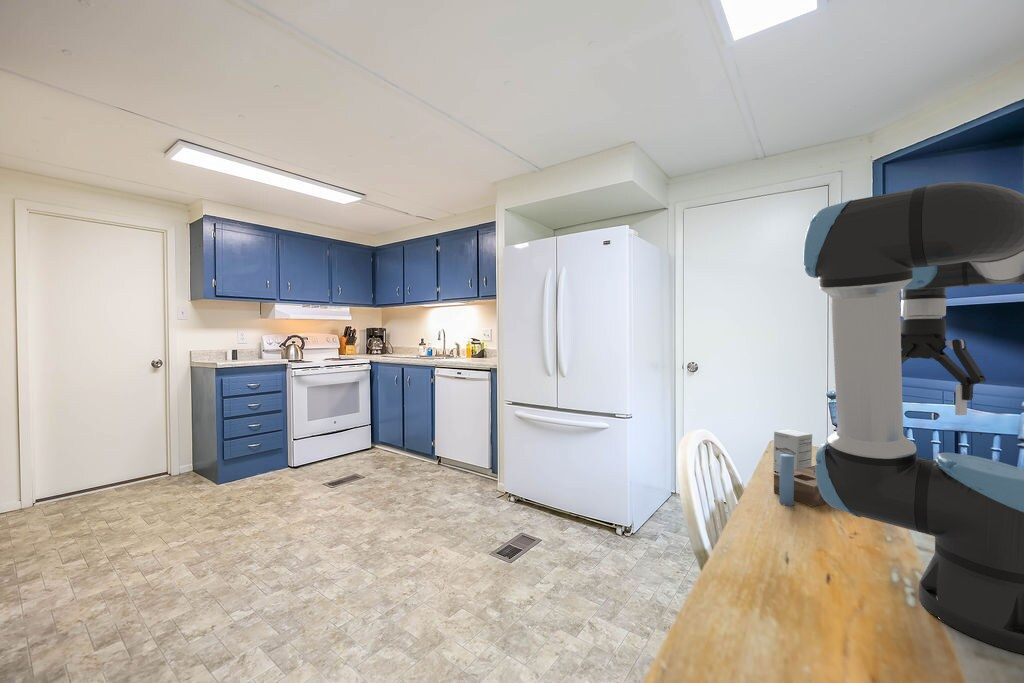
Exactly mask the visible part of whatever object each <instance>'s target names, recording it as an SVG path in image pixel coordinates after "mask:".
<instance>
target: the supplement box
mask: <svg viewBox="0 0 1024 683" xmlns="http://www.w3.org/2000/svg"><path fill="white" fill-rule="evenodd" d="M812 452H813V434H812V433H807V432H803V431H799V430H794V429H789V428H787V429H780V430H774V432H773V469H772V470H773V472H774V471H776V472H775V473H780V454H788V455H792V456H794V470H796V469H801V468H806V467H811V466H813V465H812V464H813V463H812V461H813V460H812V458H813V457H812V455H813V453H812Z"/></svg>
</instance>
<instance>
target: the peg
mask: <svg viewBox="0 0 1024 683" xmlns="http://www.w3.org/2000/svg"><path fill="white" fill-rule="evenodd" d="M778 495H779V497H778V498H779V501H778V502H779V504H781V505H783V506H787V507H788V506H789V507H792V506H794V505H795V504H794V502H795V500H794V456H792V455H788V454H780V483H779V494H778Z"/></svg>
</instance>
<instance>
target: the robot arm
mask: <svg viewBox="0 0 1024 683" xmlns="http://www.w3.org/2000/svg"><path fill="white" fill-rule="evenodd" d="M802 251H803V256H802V257H803V259H802V260H803V266H804V269H805V270H804V271H805V273H806V275H807V276H808V277H810V278H814V279H818V284H819V285H818V287H819V290H821V291H822V292H824V293H825V294H827V295H828V296H829V297H830V302H831V304H830V305H831V324H832V326H831V327H832V340H833V341H832V342H833V345H832V346H833V362H834V366H833V368H834V384H835V387H834V388H835V401H836V402H835V403H836V404H835V405H836V406H835V407H836V423H837V424H836V425H837V426H836V427H837V429H836V430H835V431H834V432H832V433H830V434H829V435H828V436H827V441H826V442H823V443H821V444H820V445H819V447H818V449H817V451H816V454H815V465H814V466H815V473H816V480H817V485H818V488H819V491H820V494H821V496H822V497H823V499H824V500H825V501H826V502H827V503H826V504H828V505H829V506H830V507H831V508H833V509H835V510H839V511H842V512H845V513H848V514H851V515H852V516H855V517H858V518H865V519H869V520H872V521H877V522H880V523H883V524H884V523H885V524H888V525H891V526H895V527H900V528H903V529H907V530H911V531H913V532H917V533H922V534H925V535H929V536H931V537H934V554H933V556H932V558H931V560H930V561H929V563H928V565H927V567H926V569H925V571H924V572H923V574H922V576H921V578H920V580H919V583H918V600H919V602H920V605H922V606H923V607H924V608H925V609H926V611H928V612H929V611H930V612H931V613H932V614H931V613H930V612H929V613H930V614H931V615H933V614H934V615H935V616H937V617H939V618H940V619H941V620H942V622H943V621H944V622H945V623H944V622H943V623H944V624H946V625H947V626H949V627H951V628H953V629H954V630H957V631H959V632H961V633H963V634H965V635H967V636H969V637H972V638H974V639H976V640H978V641H982V642H984V643H986V644H989V645H992V646H995V647H998V648H1000V649H1004V650H1007V651H1010V652H1015V653H1018V654H1022V655H1024V469H1023V468H1020V467H1017V466H1014V465H1011V464H1008V463H1005V462H1000V461H998V460H993V459H990V458H984V457H981V456H975V455H971V454H970V455H969V454H962V453H961V454H960V453H955V452H941V453H938V454H937V456H936V457H935V458H934V460H931V459H925V458H920V457H918V456H917V454H918V453H917V452H918V451H917V445H916V444H915V442H913V441H912V440H910V439H909V438H908V437H907V436H905V435H904V414H903V410H904V409H903V379H902V378H903V377H902V376H903V375H902V374H903V371H902V365H903V364H904V363H905V362H906V361H908V360H909V359H926V360H927V359H928V360H932V359H933V360H934V361H936V362H938V363H939V364H940V365H941V366H942V367H943V368H944V369H945V370H946V371H947V372H948V373H950V374H951V376H953V378H954V379H956V380H957V382H959V384H956V385H955V404H954V405H955V410H954V414H955V416H966V415H968V411H967V410H968V401H972V400H973V398H974V386H975V385H977V384H982V383H983V384H984V383H986V382H987V378H986V377H985V375H984V373H983V372H982V371H981V369H980V368H979V366H978V365H977V363H976V362H975V360H974V359H973V358H974V357H972V356H971V354H970V352H969V350H967V344H966V343H967V342H966V340H964V339H956V338H955V339H953V340H947V339H946V332H947V320H946V319H945V318H944V317H946V315H947V289H948V288H949V289H950V288H960V287H961V288H962V287H963V288H965V287H976V286H977V287H978V286H993V285H994V286H995V285H1010V284H1011V285H1012V284H1019V285H1022V284H1023V285H1024V193H1021V192H1020V191H1018V190H1017V191H1016V190H1015V189H1011V188H1009V187H1004V186H1001V185H996V184H990V183H984V182H973V181H949V182H939V183H938V182H937V183H934V184H928V185H927V186H921V187H917V188H912V189H911V188H910V189H906V190H901V191H900V190H899V191H896V192H890V193H885V194H880V195H873V196H869V197H868V196H867V197H863V198H859V199H851V200H847V201H844V202H840V203H837V204H833V205H829V206H826V207H824V208H822V209H820V210H819V211H818V212H816V214H814V215H813V217H812V219H811V220H810V223H809V225H808V227H807V230H806V233H805V238H804V243H803V250H802ZM900 294H901V299H900ZM901 318H903V319H901ZM947 347H949V349H951V351H953V353H954V354H955V356H956V357H957V360H958V361H959V362H960V364H961V365H962V367H963V368H964V370H965V371H966V372H965V371H964V370H963V369H962V368H961V367H960V366H959V365H958V364H956V362H955V361H953V360H952V358H950V356H949V355H948V354H947V353H946V352H945V351H944V350H945V349H946V348H947ZM934 615H933V616H934ZM935 616H934V617H935ZM937 617H936V618H937ZM940 619H939V620H940ZM941 620H940V621H941Z"/></svg>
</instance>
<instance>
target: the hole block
mask: <svg viewBox="0 0 1024 683" xmlns="http://www.w3.org/2000/svg"><path fill="white" fill-rule="evenodd" d="M779 483H780V473H779V472H775V473H773V493H774V492H775V493H774V494H777V495H779ZM794 501H796V502H800V503H802V504H805V505H808V506H811V507H813V508H814V507H817V506H821V505H825V504H828V503H827V502H826V501H825V500H824V499H823V497H822V496H821V494H820V491H819V488H818V485H817V480H816V473H815V465H811V467H806V468H801V469H796V470H794Z"/></svg>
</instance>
